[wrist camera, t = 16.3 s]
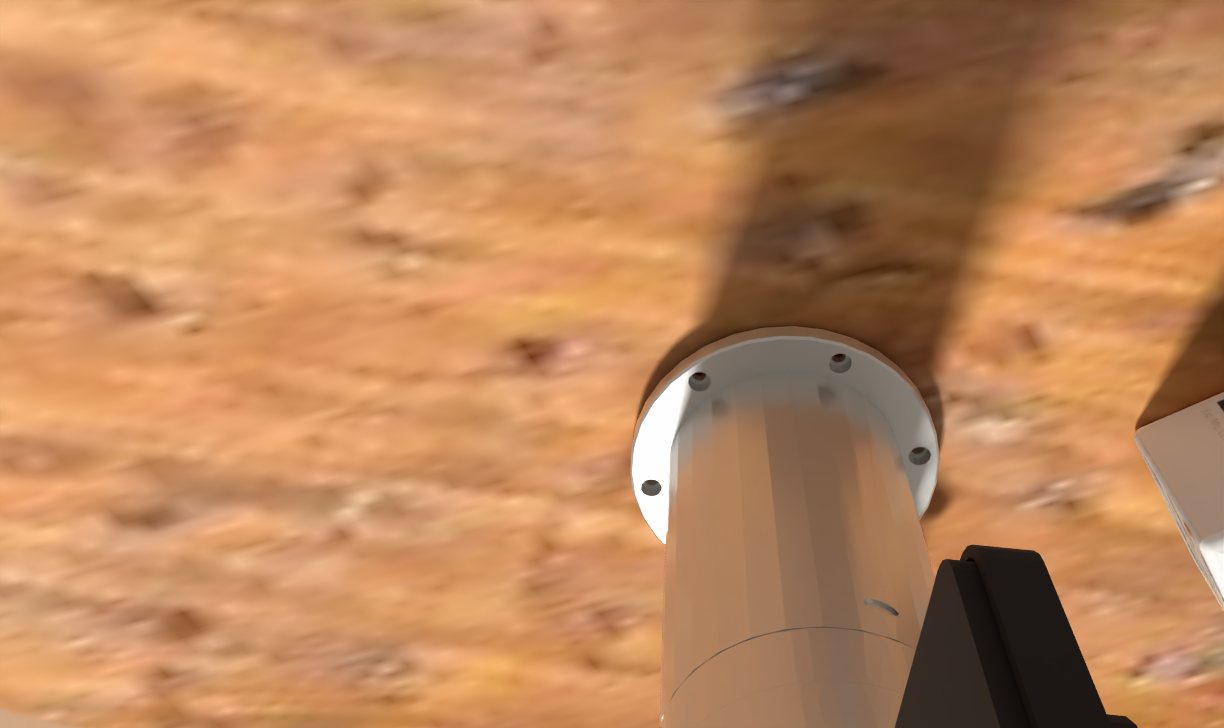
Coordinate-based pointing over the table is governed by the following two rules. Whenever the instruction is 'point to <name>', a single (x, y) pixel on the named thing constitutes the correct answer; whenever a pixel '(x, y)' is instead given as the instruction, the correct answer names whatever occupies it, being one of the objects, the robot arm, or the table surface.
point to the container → (1192, 480)
